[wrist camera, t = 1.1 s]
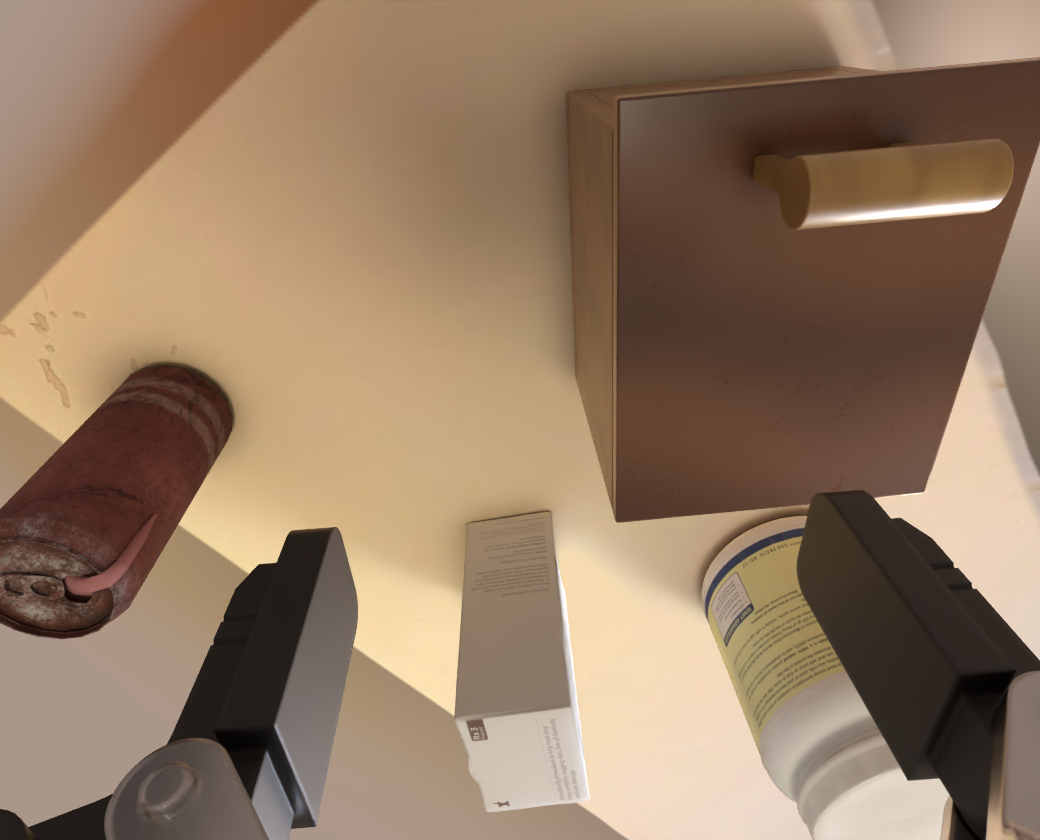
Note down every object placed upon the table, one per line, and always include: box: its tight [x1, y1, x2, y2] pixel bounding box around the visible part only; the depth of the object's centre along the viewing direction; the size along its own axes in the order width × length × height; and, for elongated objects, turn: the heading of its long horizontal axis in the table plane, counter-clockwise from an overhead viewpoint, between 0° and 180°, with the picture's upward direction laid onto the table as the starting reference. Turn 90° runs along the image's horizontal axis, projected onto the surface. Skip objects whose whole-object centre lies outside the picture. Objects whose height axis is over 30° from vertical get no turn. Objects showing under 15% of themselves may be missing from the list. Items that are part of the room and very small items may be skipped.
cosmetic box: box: [454, 512, 589, 812], centre depth 38 cm, size 8×6×15 cm
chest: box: [566, 66, 882, 509], centre depth 28 cm, size 15×13×12 cm
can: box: [0, 366, 232, 639], centre depth 31 cm, size 6×6×14 cm
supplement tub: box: [702, 516, 949, 840], centre depth 39 cm, size 12×12×17 cm
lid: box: [613, 57, 1040, 523], centre depth 21 cm, size 16×13×5 cm
